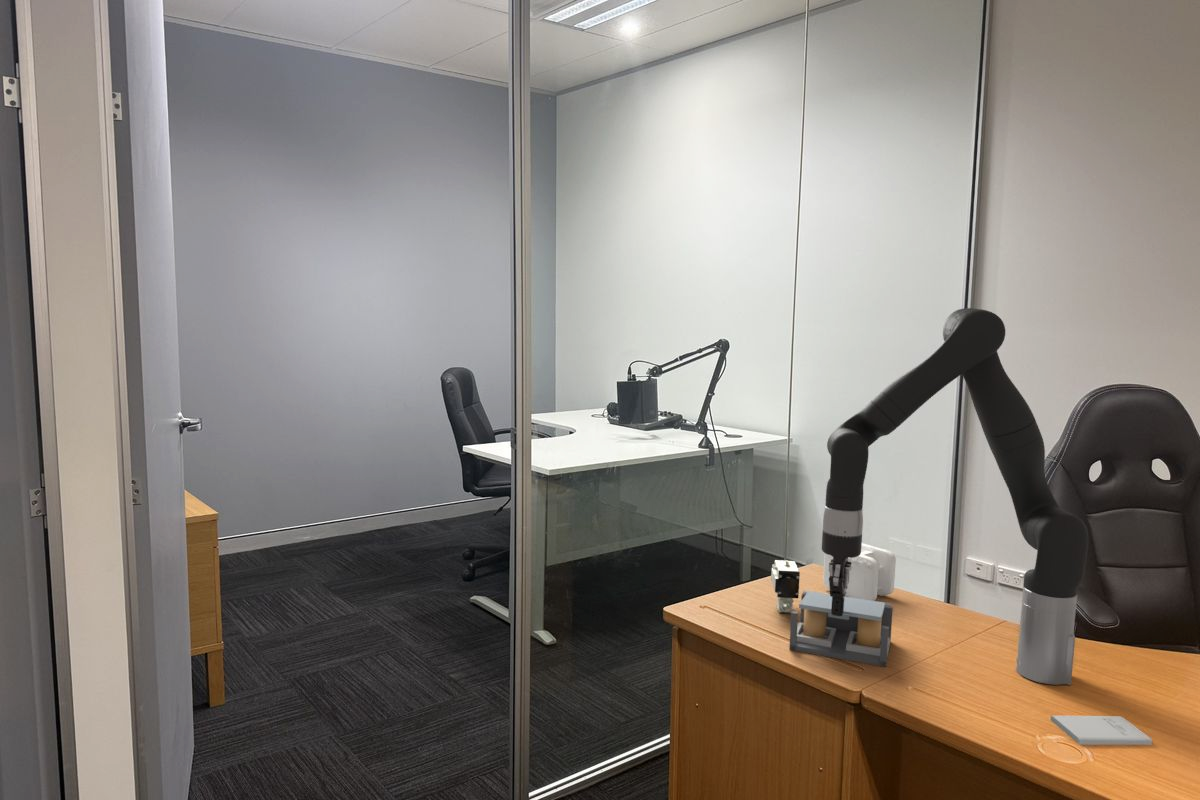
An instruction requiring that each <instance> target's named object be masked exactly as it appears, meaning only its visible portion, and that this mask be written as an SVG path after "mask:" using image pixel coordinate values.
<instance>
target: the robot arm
mask: <svg viewBox="0 0 1200 800" xmlns="http://www.w3.org/2000/svg"><path fill="white" fill-rule="evenodd" d="M942 336H943V341H944V342H943V343H941V345H940V346H939V347H938V348H937V350H935V351H934V352H933V353H932V354H931V355H930V356H929V357H928V358H926V359H925V360H923V361H922V362H921V363H920V364H918V365H917V366H915V367H913V368H912V369H910V370H908V372H906V373H903V375H901V376H899V377H898V378H896V379H895V380H893V381H892V382H891V383H890V384H888V385H887V386H886V387H885V388H884V389H883V390H881V391H880V392H879V393H878V394H877V395H876V396H875V397H873V399H872V400H870V401H869V402H868V403H867V404H866V405H865V406H864V408H862V409H861V410H860V411H858V412H857V413H855V414H854V415H853V416H851V417H849V418H848V419H847V420H845V421H844V422H843V423H841V424H840V425H839V426H837V428H835V430H833V432H831V434H830V435H829V437H828V439H827V442H826V443H827V444H826V448H827V452H828V453H829V455H830V470H829V471H830V472H829V478H828V481H827V482H826V489H825V492H826V493H825V503H824V504H825V507H824V513H823V520H822V535H821V551H822V552H823V553H824V554H825V553H826V554H828V555H831V556H832V557H833V559H831V563H829V572H830V578H829V585H830V590H829V594H830V596H831V597H832V609H831V614H832V615H835V616H842V615H843V612H844V597H846V595H845V594H846V590H847V588H848V586H847V585H848V583H849V576H850V570H851V566H852V562H848V557H850V558H854V557H857V556H859V555H860V554H861V546H862V543H863V528H864V515H863V514H864V513H863V505H864V504H863V503H864V483H865V479H866V473H867V469H868V463H869V448H870V446H871V445H872V444H874V443H875V442H876V441H877V440H879V439H880V438H881V437H884V436H888V435H890V434H891V433H893V432H894V431H895V430H896V429H897V428H898V427H900V426H901V425H902V424H903V423H904V422H905V421H907V419H908V418H910V417H911V416H912V415H913V414H914V413H916V411H918V409H920V408H921V407H922V406H924V404H925V403H926V402H928V401H929V400H930V399H932V397H934V396H935V395H936V394H937V393H938V392H940V391H941V390H943V388H945V387H946V386H947V385H949V384H950V383H951V382H953V381H954V380H956V379H957V378H958V377H960V376H961V375H962V377H963V379H964V381H965V383H966V386H967V388H968V392H969V395H970V398H971V400H972V401H971V402H972V404H973V407H974V410H975V412H976V415H977V418H978V421H979V422H980V426H981V429H982V432H983V434H984V436H985V439H986V441H987V444H988V446H989V449H990V451H991V453H992V456H993V458H994V459H995V462H996V464H997V467H998V470H999V471H1000V474H1001V476H1002V478H1003V480H1004V482H1005V485H1006V487H1007V489H1008V491H1009V495H1010V498H1011V502H1012V505H1013V507H1014V512H1015V514H1016V519H1017V522H1018V525H1019V530H1020V532H1021V534H1022V537H1023V538H1024V540H1025V541H1026V543H1027V545H1029V546H1030V547H1032V548H1033V549H1034V550H1036V551H1037V552H1036V558H1035V564H1034V565H1035V566H1034V569H1033V568H1032V569H1029V570H1027V571H1025V573H1024V576H1023V584H1022V585H1023V586H1022V597H1021V598H1022V599H1021V609H1020V620H1019V630H1018V631H1019V634H1018V643H1017V657H1016V672H1017V673H1018V675H1020V676H1021V677H1023V678H1024V677H1025V679H1028V680H1030V681H1033V682H1037V683H1040V684H1045V685H1056V686H1059V685H1069V686H1072V679H1073V670H1074V669H1073V667H1074V665H1073V664H1074V658H1075V657H1074V656H1075V648H1076V647H1075V646H1076V636H1075V632H1074V631H1075V621H1076V613H1077V611H1076V610H1077V609H1076V608H1077V601H1078V600H1077V599H1078V591H1079V587H1080V585H1081V584H1082V581H1083V579H1084V577H1085V573H1086V572H1085V571H1086V565H1087V557H1088V550H1089V532H1088V527H1087V525H1086V524H1085V522H1084V520H1082V519H1081V518H1079V517H1078V516H1076V515H1075V514H1073V513H1071V512H1068V511H1066V510H1064V509H1062V508H1061V507H1060V506H1059V505H1058V503H1057V501H1056V498H1055V497H1054V494H1053V493H1052V491H1051V488H1050V486H1049V484H1048V480H1047V478H1046V473H1045V472H1046V471H1045V463H1046V462H1045V459H1046V458H1045V457H1046V451H1045V450H1046V449H1045V443H1044V438H1043V435H1042V433H1041V431H1040V428H1039V425H1038V423H1037V420H1036V417H1035V416H1034V413H1033V412H1032V409H1031V407H1030V406H1029V404H1028V403H1027V401H1026V400H1025V397H1024V396H1023V395H1022V394H1021V392H1020V391H1019V389H1018V388H1017V387H1016V386H1015V384H1014V382H1013V381H1012V380H1011V378H1010V377H1009V376H1008V374H1007V373H1006V371H1005V368H1004V366H1003V363H1002V362H1001V359H1000V356H999V353H998V350H999V349H1000V348H1001V346H1002V345H1003V344H1004V341H1005V337H1006V325H1005V323H1004V321H1003V320H1002V318H1001V317H1000V316H998V314H996V313H994V312H993V311H989V310H987V309H980V308H971V307H970V308H969V307H967V308H966V307H964V308H960V309H957V310H954V311H953V312H952V313H950V314H949V315H948V316H947V317H946V319H945V321H944V324H943V327H942Z"/></svg>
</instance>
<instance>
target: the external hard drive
mask: <svg viewBox="0 0 1200 800" xmlns="http://www.w3.org/2000/svg"><path fill="white" fill-rule="evenodd" d="M1050 721H1051V722H1052V723H1053V724H1054V725H1055V726H1057V727H1058V728H1059V729H1060V730H1061V731H1062V732H1064V733H1065V734H1066V735H1067V736H1068V737H1070V738H1071V739H1072V740H1073V741H1074V742H1075V743H1076V744H1077V745H1079V746H1085V745H1086V746H1088V745H1089V746H1094V745H1095V746H1096V745H1099V746H1101V745H1104V746H1105V745H1106V746H1111V745H1112V746H1126V745H1127V746H1153V739H1152V738H1151V737H1149V735H1147V734H1146V733H1144V732H1143V731H1141V730H1140V729H1139V728H1137V727H1136V726H1135V725H1133V723H1131V722H1130V721H1128V720H1127V719H1126V718H1124V717H1123V716H1119V715H1116V716H1115V715H1113V716H1110V715H1108V716H1107V715H1051V716H1050Z"/></svg>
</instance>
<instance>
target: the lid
mask: <svg viewBox="0 0 1200 800" xmlns="http://www.w3.org/2000/svg"><path fill="white" fill-rule="evenodd" d="M807 591H808V592H807V594H806V595H805V597H804V598H803V599H802V601H800V602H799V604H798V609H801V608H802V609H809V610H815V611H821V612H827V613H828V617H833V618H839V619H845V620H849V616H852V617H858V618H864V619H870V620H877V621H881V618H882V615H883V612H884V608H885V603H886V602H885V601H884V602H883V601H877V600H875V601H871V600H865V599H858V598H852V597H849V596H845V597H844V612H843V615H842V616H835V615H832V614H831V609H832V597H831V596H830V593H824V592H817V591H811V590H807Z"/></svg>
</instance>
